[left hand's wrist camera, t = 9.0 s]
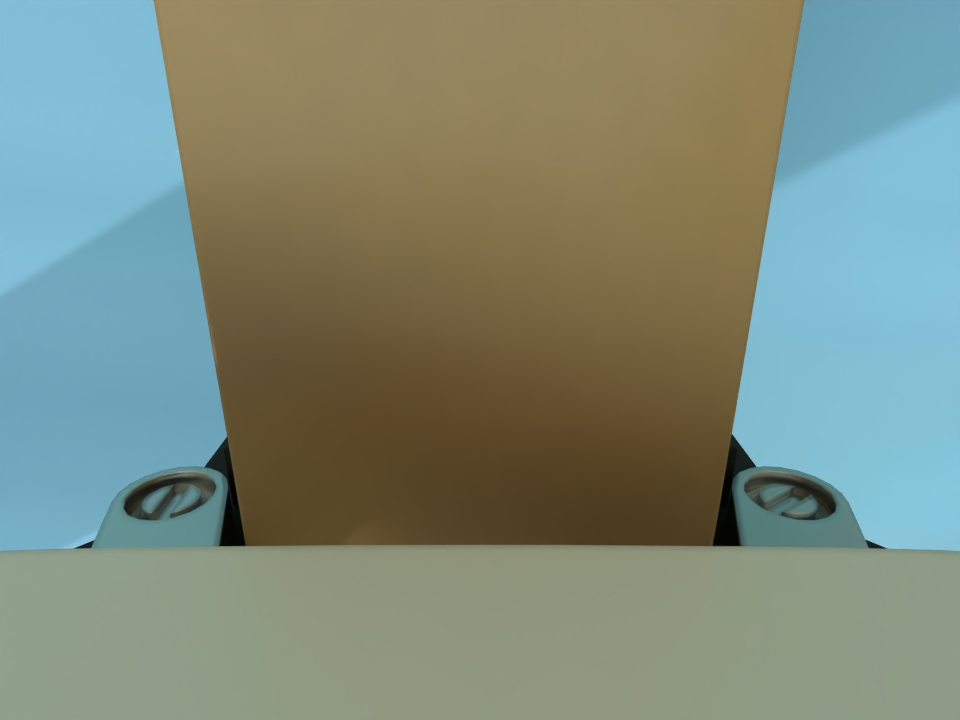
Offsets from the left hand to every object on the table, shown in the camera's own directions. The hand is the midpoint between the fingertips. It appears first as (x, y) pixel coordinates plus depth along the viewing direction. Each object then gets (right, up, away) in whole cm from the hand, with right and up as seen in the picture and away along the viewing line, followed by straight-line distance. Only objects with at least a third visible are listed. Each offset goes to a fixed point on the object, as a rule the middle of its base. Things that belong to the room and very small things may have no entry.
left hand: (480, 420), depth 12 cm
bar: (0, +23, -7) cm, 24 cm away
